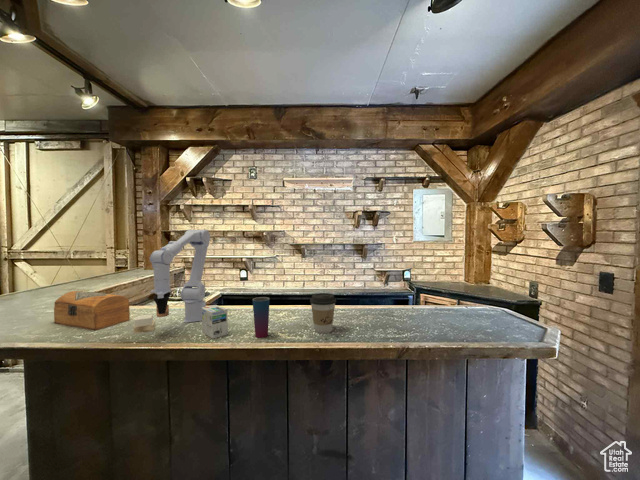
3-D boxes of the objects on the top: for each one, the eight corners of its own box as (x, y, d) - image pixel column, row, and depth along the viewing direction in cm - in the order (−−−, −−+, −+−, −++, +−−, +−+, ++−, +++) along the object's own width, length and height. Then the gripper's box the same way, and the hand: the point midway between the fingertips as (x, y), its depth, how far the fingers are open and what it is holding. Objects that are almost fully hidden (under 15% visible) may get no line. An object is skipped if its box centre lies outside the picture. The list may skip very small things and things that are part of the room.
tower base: (155, 326, 122) (155, 320, 122) (153, 331, 116) (153, 324, 116) (136, 329, 119) (136, 322, 119) (133, 334, 113) (133, 327, 112)
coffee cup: (317, 337, 107) (317, 300, 107) (305, 328, 117) (305, 294, 117) (341, 332, 112) (341, 296, 112) (328, 324, 122) (328, 291, 122)
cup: (266, 339, 105) (265, 301, 105) (250, 338, 107) (249, 300, 106) (272, 333, 112) (272, 297, 112) (257, 332, 113) (256, 296, 113)
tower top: (153, 320, 121) (152, 314, 121) (151, 324, 116) (151, 317, 115) (137, 323, 118) (136, 316, 118) (134, 327, 113) (134, 320, 113)
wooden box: (51, 324, 126) (50, 294, 125) (91, 314, 141) (90, 288, 141) (91, 332, 115) (90, 300, 115) (130, 320, 130) (129, 292, 130)
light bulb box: (228, 334, 111) (228, 308, 110) (212, 339, 106) (211, 312, 106) (217, 328, 118) (216, 304, 118) (201, 332, 113) (201, 307, 113)
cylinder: (169, 313, 114) (169, 303, 114) (168, 316, 110) (168, 306, 110) (157, 314, 112) (157, 305, 112) (156, 317, 108) (155, 307, 108)
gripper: (152, 277, 116) (153, 308, 116) (148, 283, 103) (148, 318, 103) (171, 276, 119) (172, 306, 119) (169, 281, 106) (169, 315, 106)
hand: (162, 311), depth 111 cm, fingers closed on cylinder, 4 cm apart
